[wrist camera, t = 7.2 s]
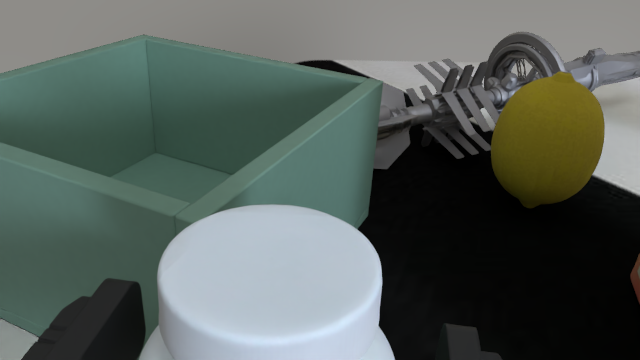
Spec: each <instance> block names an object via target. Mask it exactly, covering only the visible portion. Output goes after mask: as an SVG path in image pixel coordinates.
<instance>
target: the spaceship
mask: <svg viewBox="0 0 640 360" xmlns="http://www.w3.org/2000/svg"><path fill="white" fill-rule="evenodd" d="M527 43H528V44H527ZM524 44H525V45H524ZM527 45H529V46H527ZM530 46H532V47H530ZM533 47H534V48H535V49H534V48H533ZM539 51H540V52H539ZM521 59H523V62H522V60H521ZM524 59H526V60H527V61H528V62H529V63H530V64H531V66H532V67H533V68H532V69H531V71H530V72H529V74H528V75H527V77H526V71H525V64H524ZM518 60H519V61H518ZM442 61H443V62H444V63H445V64H446V65H448V66H449V67H450V68H451V69H450V71H449V72H447V71H446V70H445V69H444V68H442V67H441V66H440V65H439V64H437V63H436V62H429V63H428V64H429V65H430V66H432V67H433V68H434V69H435V70H436V71H437V72H438V73H439V74H440V75H441V76H442V77H443V78H444V79H445V82H444V83H443V82H442V81H441V80H439V79H438V78H437V77H436V76H434V75H433V74H432V73H431V72H430V71H428V70H427V69H426V68H425V67H424V66H422V65H421V64H419V65H414V67H415V68H416V69H417V70H418V71H419V72H420V73H421V74H422V75H424V76H425V77H426V78H427V79H428V80H429V81H430V82H431V83H432V84H433V85H434V87H435V89H436V91H437V92H436V93H437V94H435V95H432V93H431V92H430V90H429V89H428V87H427V86H426V85H425V86H420V89H421V91H422V93H423V95H424V96H425V101H424V103H423V104H422V102H421V101H420V99H419V97H418V96H417V94H416V93H415V91H414V89H413V88H411V89H406V91H407V93H408V95H409V97H410V99H411V101H412V103H413V105H414V107H409V108H406V105H405V99H404V94H403V91H402V90H399V89H397V88H395V87H393V86H390V85H388V84H386V83H383V89H382V97H381V106H380V115H379V123H378V132H377V141H376V149H375V158H374V167H373V168H375V169H388V168H389V167H390V165H391V164H392V163H393V162H394V161H395V160H396V159H397V158H398V157H399V156H400V155H401V153H402V152H403V151H404V150H405V149H406V148H407V147H408V146H409V144H410V138H409V131H408V130H409V129H410V126H415V125H417V124H421V123H422V125H424V126H425V128H422V129H423V130H424V131H425V133H424V136H423V139H422V142H421V145H423V146H422V147H425V146H428V145H429V143H430V141H431V139H432V137H433V136H434V137H435V140H434V142H435V141H436V143H441V144H442V145H443V146H444V147H445V148H446V149H447V150H448V151H449V152H451V153H452V154H453V155H454V156H455V157H456V158H457V159H460V158H463V157H464V155H463V154H462V153H461V152H460V151H459V150H458V149H457V148H456V147H455V146H454V145H453V144H452V143H451V142H450V140H451V139H455V140H456V141H457V142H458V143H459V144H460V145H462V146H463V147H464V148H465V149H466V150H467V151H468V152H469V153H470V154H472V155H474V154H478V153H479V152H478V151H477V150H476V149H475V148H474V147H473V146H472V145H471V144H470V143H469V142H468V141H467V140H466V139H465V138H464V137H463V136H462V135H461V134H460V133H459V130H460V128H461V129H462V130H463V131H464V132H465V133H466V134H468V135H469V136H470V137H471V138H472V139H473V140H474V141H475V142H477V143H478V144H479V145H480V146H481V147H482V148H483V149H484V150H486V151H488V150H491V146H490V145H489V144H488V143H487V142H486V141H485V140H484V139H483V138H482V137H481V136H480V135H479V134H478V133H477V132H476V131H475V130H474V129H473V127H472V125H471V123H470V121H469V120H468V119H469V118H471V117H474V118H475V119H476V121H477V122H478V124H479V126H480V127H481V129H482V130H483V131H484V132H485V131H489V130H491V128H490V127H489V125H488V123H487V122H486V120H485V118H484V116H483V115H482V113H481V111H480V109H481V108H484V107H485V109H486V110H487V112H488V113H489V115H490V116H491V118H492V119H493V121H494V122H495V124H496V123H497V120H498V118H499V116H500V114H501V112H502V110H503V108H504V107H505V105H506V103H507V102H508V101H509V99H510V98H511V97H512V95H513V94H514V93H515V92H516V91H517V90H519V89H520V88H521V87H523V86H524V85H526V84H528V83H530V82H532V81H535V80H537V79H540V78H545V77H551V76H553V75H554V74H556V73H557V72H568V73H570V74H572V76H573V78H574V80H575V81H577V82H579V83H580V84H582V85H583V86H585V87H586V88H587V89H588V90H589V91H590V92H592V91H593V90H594V89H595V88H597V87H599V86H602V85H606V84H612V83H617V82H622V81H626V80H630V79H634V78H638V77H640V51H637V52H631V53H621V54H615V55H606V54H605V51H604V50H603V49H601V48H598V49H593V50H589V52H588V54H587V55H586V56H583V57H579V58H577V59H575V60H573V61H571V62H567V63H564V62H563V61H562V59H561V57H560V56H559V54H558V52H557V51H556V50H555V49H554V48H553V46H552V45H551V44H550V43H548V42H547V41H546V40H545V39H543V38H541V37H539V36H538V35H535V34H532V33H529V32H517V33H513V34H510V35H508V36H507V37H505V38H504V39H503V40H501V41H500V42H499V43H498V44H497V45H496V47H495V48H494V49H493V51H492V53H491V54H490V56H489V59H488V61H487V62H482V63H480V65H479V67H478V69H477V71H476V73H475V75H474V77H472V76H471V75H472V72H473V69H474V67H472V65H467V66H465V68H464V70H463V69H461V68H460V67H459V66H457V65H456V64H455V63H454V62H452V61H451V60H450V59H444V60H442ZM517 61H518V62H517ZM520 61H521V62H522V64H523V66H524V74H525V76H524V75H523V76H522V73H521V66H520ZM531 61H532V62H533V63H534V64H535V65H534V64H533V63H532V62H531ZM515 63H516V64H517V71H518V77H517V75H516V74H514V73H511V70H512V68H513V66H514V65H515ZM518 63H519V66H518ZM519 67H520V72H519V69H518V68H519ZM537 72H538V74H536V73H537ZM519 73H520V76H519ZM457 75H459V76H460V79H459V80H457V79H456V78H457ZM524 77H525V78H524ZM483 78H484V88H483V87H482V85H483V83H482V80H483ZM370 79H374V78H370ZM375 80H377V79H375ZM408 127H409V129H408ZM446 133H449V135H448V137H446V136H445V135H446ZM448 138H449V139H448Z"/></svg>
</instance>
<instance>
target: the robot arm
mask: <svg viewBox="0 0 640 360" xmlns="http://www.w3.org/2000/svg"><path fill="white" fill-rule="evenodd" d="M145 334H146V326H145V318H144V310H143V301H142V293H141V287H140V284H139V283H138V282H136V281H129V280H121V279H113V278H107V279H105V280H104V281H103V282H102V283H101V284H100V286H99V287H98V288H97V290H96V291H95V292H94V294H93V295H92V296H91V297H87V296H81V297H79V298H78V299H76V300H75V301H73V302H72V303H70V304H69V305H67V306H66V307H64V308H63V309H62V310H61V311H60V312H59V314H58V315H57V316H56V317H55V319H54V320H53V321H52V322H51V324H50V325H49V328H46V330H45V331H44V332H43V333H42V335H41V336H40V337H39V340H38V342H35V343H34V344H33V346H32V347H31V348H30V349H29V351H28V352H27V353H26V354H25V355H24V357H23V358H22V359H21V360H137V358H138V357H139V355H140V353H141V350H142V348H143V345H144V341H145ZM435 360H502V358H501V357H500V356H499V354H498V353H492V352H484V351H481V349H480V343H479V337H478V332H477V329H476V328H475V327H469V326H461V325H454V324H446V323H444V324H443V326H442V330H441V334H440V339H439V344H438V348H437V353H436V358H435Z"/></svg>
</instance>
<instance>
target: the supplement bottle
mask: <svg viewBox="0 0 640 360" xmlns="http://www.w3.org/2000/svg"><path fill="white" fill-rule="evenodd" d="M157 288H158V302H159V325H158V326H157V327H156V329H155V330H154V331H153V333H152V334H151V336H150V337H149V339H148V341H147V343H146V344H145V346H144V348H143V350H142V353H141V355H140V358H139V360H395V358H394V355H393V352H392V350H391V347H390V345H389V343H388V341H387V339H386V337H385V335H384V334H383V332H382V331H381V329H380V328H379V326H378V324H379V311H380V300H381V291H382V270H381V263H380V259H379V256H378V254H377V252H376V250H375V249H374V247H373V245H372V244H371V243H370V242H369V240H368V239H367V238H366V237H365V236H364V235H363V234H362V233H361V232H360V231H358V230H357V229H356V228H355V227H353V226H352V225H350V224H348V223H347V222H345V221H343V220H341V219H339V218H336V217H334V216H331V215H329V214H327V213H324V212H321V211H318V210H314V209H311V208H306V207H299V206H293V205H276V204H271V205H248V206H242V207H237V208H231V209H228V210H224V211H221V212H218V213H215V214H212V215H210V216H207V217H205V218H203V219H201V220H199V221H197V222H195V223H193V224H192V225H190V226H188V227H187V228H185V229H184V230H183V231H181V232H180V233H179V234H178V235H177V236H176V237H175V238H174V239H173V240H172V241H171V242H170V243H169V245H168V246H167V248H166V249H165V251H164V253H163V255H162V257H161V259H160V263H159V266H158V273H157Z"/></svg>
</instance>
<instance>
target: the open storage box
mask: <svg viewBox="0 0 640 360" xmlns="http://www.w3.org/2000/svg"><path fill="white" fill-rule="evenodd" d="M382 89H383V81H380V80H375V79H370V78H369V79H367V78H364V77H359V76H354V75H349V74H344V73H338V72H333V71H328V70H323V69H318V68H313V67H307V66H302V65H297V64H291V63H287V62H281V61H276V60H271V59H266V58H260V57H255V56H251V55H245V54H240V53H234V52H230V51H225V50H220V49H214V48H209V47H204V46H199V45H194V44H189V43H183V42H178V41H173V40H168V39H162V38H158V37H153V36H148V35H140V36H137V37H133V38H129V39H126V40H122V41H118V42H115V43H111V44H107V45H104V46H100V47H96V48H93V49H89V50H85V51H82V52H78V53H74V54H70V55H67V56H63V57H59V58H56V59H52V60H49V61H45V62H41V63H37V64H34V65H30V66H27V67H23V68H19V69H15V70H12V71H8V72H4V73H1V74H0V318H2V319H4V320H6V321H8V322H10V323H12V324H14V325H17V326H19V327H21V328H23V329H25V330H27V331H29V332H31V333H33V334H35V335H37V336H39V337H40V336H41V335H42V333H43V332H44V331H45V330H46V328H49V325H50V324H51V322H52V321H53V320H54V319H55V317H56V316H57V315H58V314H59V312H60V311H61V310H62V309H63V308H64V307H66V306H67V305H69V304H70V303H72V302H73V301H75V300H76V299H78V298H79V297H81V296H87V297H91V296H92V295H93V294H94V292H95V291H96V290H97V288H98V287H99V286H100V284H101V283H102V282H103V281H104V280H105V279H107V278H113V279H121V280H129V281H136V282H138V283H139V284H140V287H141V293H142V301H143V310H144V318H145V326H146V334H145V341H144V345H143V348H144V346H145V344H146V343H147V341H148V339H149V337H150V336H151V334H152V333H153V331H154V330H155V329H156V327H157V326H158V325H159V302H158V288H157V273H158V266H159V263H160V259H161V257H162V255H163V253H164V251H165V249H166V248H167V246H168V245H169V243H170V242H171V241H172V240H173V239H174V238H175V237H176V236H177V235H178V234H179V233H180V232H181V231H183V230H184V229H185V228H187V227H188V226H190V225H192V224H193V223H195V222H197V221H199V220H201V219H203V218H205V217H207V216H210V215H212V214H215V213H218V212H221V211H224V210H228V209H231V208H237V207H242V206H248V205H271V204H276V205H293V206H299V207H306V208H311V209H314V210H318V211H321V212H324V213H327V214H329V215H331V216H334V217H336V218H339V219H341V220H343V221H345V222H347V223H348V224H350V225H352V226H353V227H355V228H356V229H358V228H359V226H360V225H361V224H362V222H363V221H364V220H365V219H366V217H367V216H368V210H369V207H368V206H369V201H370V193H371V184H372V175H373V167H374V158H375V149H376V141H377V132H378V123H379V115H380V106H381V97H382ZM143 348H142V350H143ZM142 350H141V353H142ZM141 353H140V355H141ZM140 355H139V357H138V358H137V360H139V358H140Z"/></svg>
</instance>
